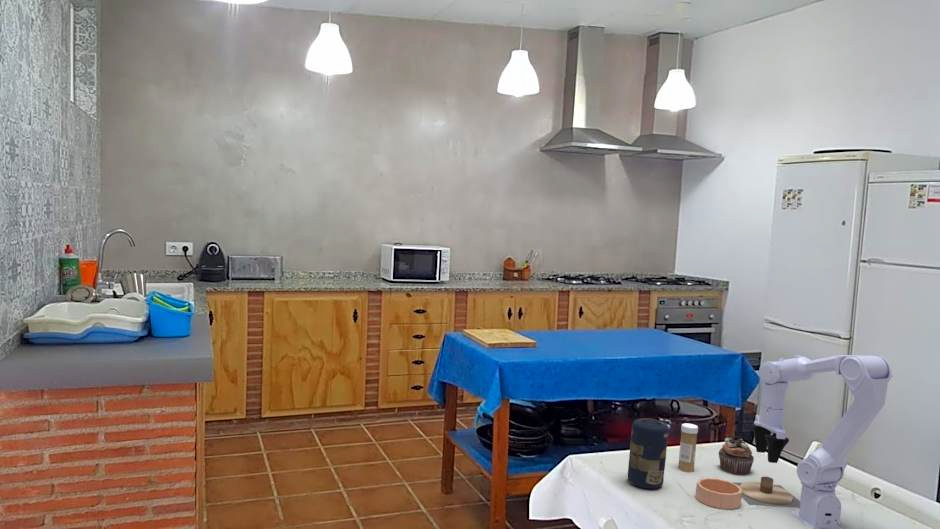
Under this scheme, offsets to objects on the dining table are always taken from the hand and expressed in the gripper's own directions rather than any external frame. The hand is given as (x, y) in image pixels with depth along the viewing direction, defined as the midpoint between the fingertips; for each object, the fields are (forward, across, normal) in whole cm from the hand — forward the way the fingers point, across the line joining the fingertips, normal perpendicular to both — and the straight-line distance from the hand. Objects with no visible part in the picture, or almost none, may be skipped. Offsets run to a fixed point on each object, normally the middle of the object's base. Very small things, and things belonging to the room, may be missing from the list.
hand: (766, 457), depth 188 cm
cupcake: (+11, -17, -1) cm, 20 cm away
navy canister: (+11, -2, -31) cm, 33 cm away
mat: (+10, +1, 0) cm, 10 cm away
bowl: (+11, +7, -14) cm, 19 cm away
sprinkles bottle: (+11, -15, -16) cm, 24 cm away
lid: (+10, +1, 0) cm, 10 cm away
